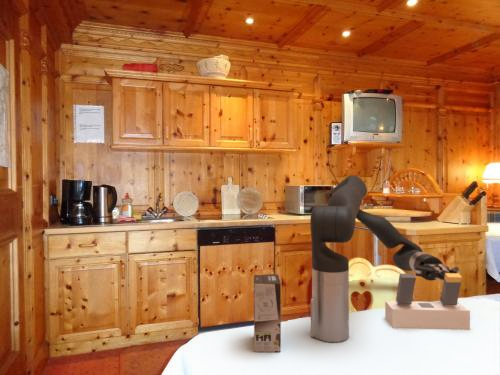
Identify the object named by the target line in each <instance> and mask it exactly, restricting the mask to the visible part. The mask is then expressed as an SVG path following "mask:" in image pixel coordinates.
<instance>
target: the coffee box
mask: <svg viewBox="0 0 500 375" xmlns="http://www.w3.org/2000/svg"><path fill="white" fill-rule="evenodd" d="M281 284H282V283H281V280H280V277H279V274H277V273H275V274H273V273H272V274H254V275H253V335H254V336H253V338H254V339H253V340H254V341H253V342H254V345H253V346H254V352H257V353H258V352H259V353H260V352H262V353H264V352H266V353H267V352H268V353H270V352H271V353H273V352H274V353H276V352H275V351H278V352H277V353H280V352H281V351H282V350H281V346H282V345H281V337H282V335H281V334H282V332H281V331H282V330H281V329H282V328H281V327H282V324H281V323H282V322H281V320H282V318H281V316H282V314H281V312H282V311H281V309H282V308H281V306H282V302H281V297H282V296H281V295H282V294H281V293H282V292H281V289H282V288H281V286H282V285H281ZM279 351H280V352H279Z"/></svg>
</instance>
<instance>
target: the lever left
mask: <svg viewBox="0 0 500 375" xmlns="http://www.w3.org/2000/svg"><path fill="white" fill-rule="evenodd" d="M416 278H417V276H416V275H415V273H399V276H398V283H397V291H396V297H395V301H396V302H397V304H398V305H411V304H412V301H413V298H414V289H415V284H416Z"/></svg>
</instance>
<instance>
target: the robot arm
mask: <svg viewBox="0 0 500 375" xmlns="http://www.w3.org/2000/svg"><path fill="white" fill-rule="evenodd" d="M331 193H332V195H331V197H330V198H329V199H328V203H327V205H317V206H314V207H313V208H312V209H311V214H310V222H309V223H310V225H309V226H310V227H309V228H310V239H311V240H310V241H311V274H312V275H311V276H312V277H311V280H312V281H311V294H312V295H311V299H310V337H311V338H316V339H318V340H320V341H323V342H329V343H339V342H344V341H346V340H348V339H349V338H350V311H349V310H350V290H349V289H350V282H349V280H350V277H349V276H350V275H349V274H350V271H349V270H350V268H349V267H350V266H349V265H350V262H349V259H348V257H346V256H345V255H343V254H341V253H338V252H336V251H334V250H332V249H331V248H330V247H329V246H327V244H326V243H338V244H340V243H341V244H343V243H348V242H349V241H351V240H352V238H353V236H354V233H355V228H356V221H359V222H360V223H361V224H362V225H363V226H365V227H366V228H367V229H368V230H369V231H370V232H372V234H373V235H374V236H375V237H376V238H377V239H378V240H379V241H380V242H381V243H382V244H383V246H385V247H386V248H387V249H390V250H391V249H394V248H396V247H398V246H400V245H402V246H401V247H400V248H399V249H398V250H397V251H395V252H394V254H393V256H392V262H393V263H394V265H395V266H396V267H397V268H398V269H400V270H402V271H408V272H409V271H411V272H412V271H413V272H414V276H415V277H419V278H420V277H421V278H423V279H424V280H426V281H435V280H439V281H444V277H445V273H459V274H460V268H459V267H458V266H455V267H451V268H450V267H449V266H446V265H444V263H443V262H442V260H441V259H440V258H439V257H437V256H434V255H431V254H430V253H427V252H425V251H423V248H421V246H419V245H418V244H417V243H415V242H413V241H412V240H410V239H408V238H407V237H406V236H404V235H403V234H402V233H401V232H400V231H399V230H398V229H397V228H396V227H395V226H394V225H393V224H392V223H391V222H390V221H389V220H387V219H386V218H384V217H383V216H382V217H381V216H380V215H377V214H373V213H369V212H367V211H365V210H363V209H361V205H362V202H363V199H364V198H365V197H366V196H367V195H368V187H367V186H366V183H365V182H364V180H363V179H362V178H360V177H359V176H358V175H355V174H351V175H349V176H347V177H345V178H344V179H343V180H341V181H340V182H339V183H338V184H337V185H336V186H334V188H332V190H331Z"/></svg>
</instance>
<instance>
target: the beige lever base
mask: <svg viewBox="0 0 500 375" xmlns="http://www.w3.org/2000/svg"><path fill="white" fill-rule="evenodd" d="M384 302H385V303H384V304H385V305H384V306H385V307H384V311H385V312H384V315H385V316H384V318H385V320H386V321H387V323H388V324H389V325H390V326H391V328H393V329H430V330H431V329H434V330H471V310H470V309H468V308H467V307H465V305H462V304H460V302H458V301H457V305H443V304H441V301H414V300H412V304H411V305H398V304H397V302H396V300H385V301H384Z"/></svg>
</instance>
